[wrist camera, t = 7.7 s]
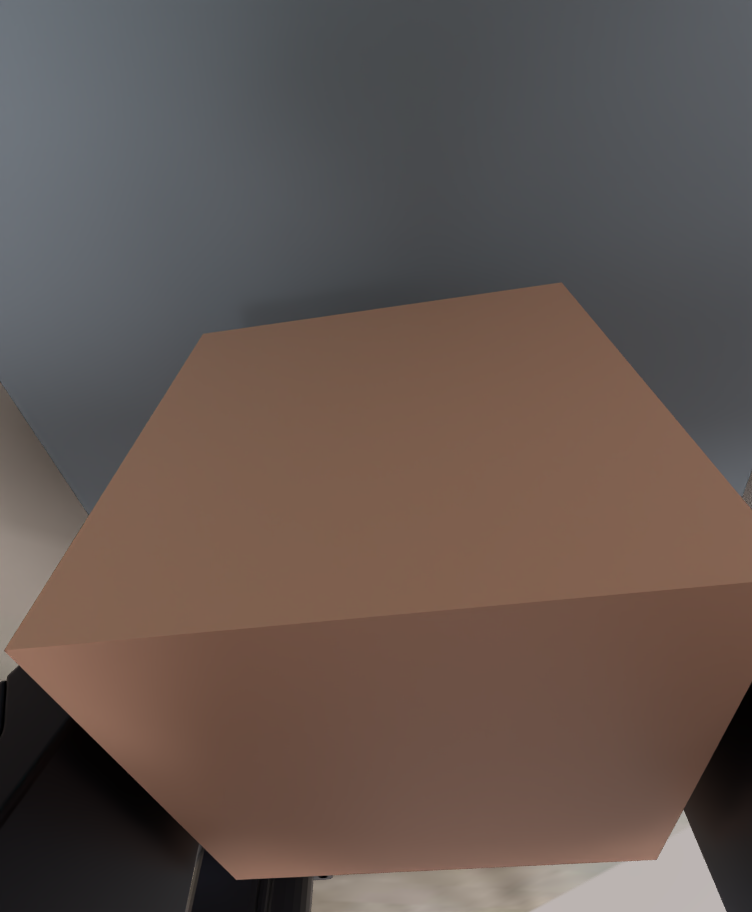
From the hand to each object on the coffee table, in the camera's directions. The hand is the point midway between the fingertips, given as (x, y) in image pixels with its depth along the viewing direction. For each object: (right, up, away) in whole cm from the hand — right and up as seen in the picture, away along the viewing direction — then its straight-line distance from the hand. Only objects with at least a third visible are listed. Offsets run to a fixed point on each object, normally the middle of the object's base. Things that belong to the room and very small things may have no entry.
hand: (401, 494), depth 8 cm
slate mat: (0, +2, +2) cm, 3 cm away
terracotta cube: (0, +1, +1) cm, 1 cm away
